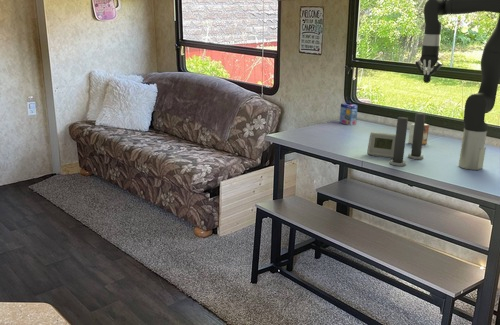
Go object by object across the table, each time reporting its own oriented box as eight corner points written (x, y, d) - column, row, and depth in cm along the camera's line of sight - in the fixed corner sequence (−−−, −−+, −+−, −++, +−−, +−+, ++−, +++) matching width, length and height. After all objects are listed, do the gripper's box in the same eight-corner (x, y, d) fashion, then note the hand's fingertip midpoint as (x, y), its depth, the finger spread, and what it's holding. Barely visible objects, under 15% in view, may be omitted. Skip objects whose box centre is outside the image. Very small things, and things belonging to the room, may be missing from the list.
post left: (408, 164, 224) (413, 118, 219) (400, 166, 219) (406, 120, 214) (394, 161, 229) (399, 116, 223) (386, 163, 224) (391, 117, 219)
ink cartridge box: (338, 122, 311) (340, 99, 307) (345, 121, 314) (346, 99, 310) (350, 125, 304) (352, 102, 300) (356, 124, 307) (358, 101, 303)
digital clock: (365, 154, 238) (367, 133, 235) (372, 151, 246) (374, 130, 243) (397, 161, 229) (400, 138, 226) (404, 157, 236) (407, 135, 233)
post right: (425, 157, 236) (431, 114, 230) (419, 160, 231) (424, 115, 225) (412, 154, 241) (417, 112, 235) (405, 157, 236) (410, 113, 230)
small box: (414, 145, 259) (417, 125, 256) (407, 142, 264) (410, 123, 261) (427, 144, 262) (429, 124, 259) (419, 141, 267) (422, 122, 264)
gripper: (448, 45, 225) (443, 83, 229) (421, 43, 233) (417, 80, 238) (441, 45, 219) (436, 84, 224) (413, 44, 228) (409, 81, 233)
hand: (426, 82), depth 231 cm, fingers closed
